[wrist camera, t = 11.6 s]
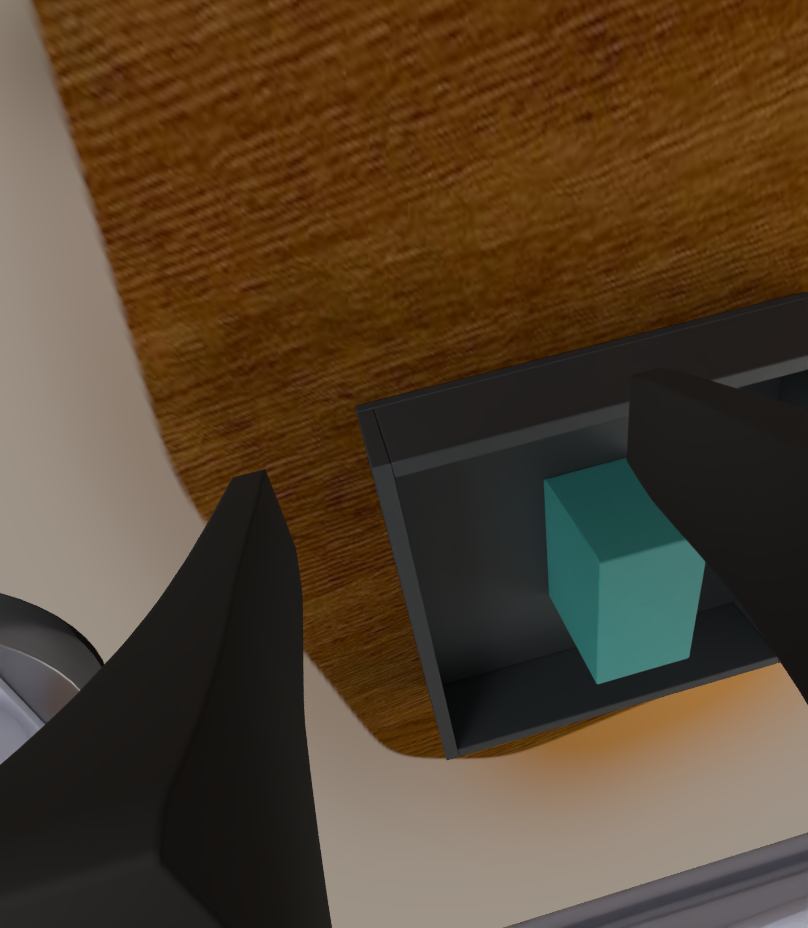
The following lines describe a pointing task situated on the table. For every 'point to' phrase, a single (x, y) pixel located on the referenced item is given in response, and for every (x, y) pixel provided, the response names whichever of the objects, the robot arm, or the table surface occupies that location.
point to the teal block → (619, 572)
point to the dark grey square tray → (524, 525)
